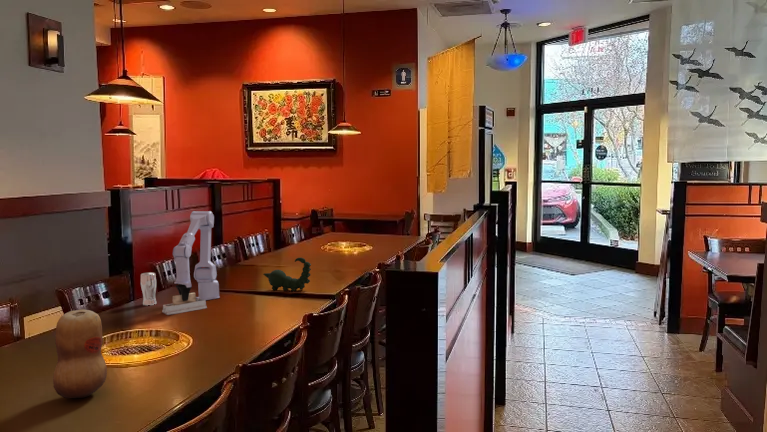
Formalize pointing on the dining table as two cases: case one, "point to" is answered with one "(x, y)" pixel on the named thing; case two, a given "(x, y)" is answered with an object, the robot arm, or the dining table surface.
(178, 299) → the door panel
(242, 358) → the dining table surface
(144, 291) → the beer glass
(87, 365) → the butternut squash
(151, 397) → the dining table surface
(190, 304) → the door track
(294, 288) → the toy figurine
